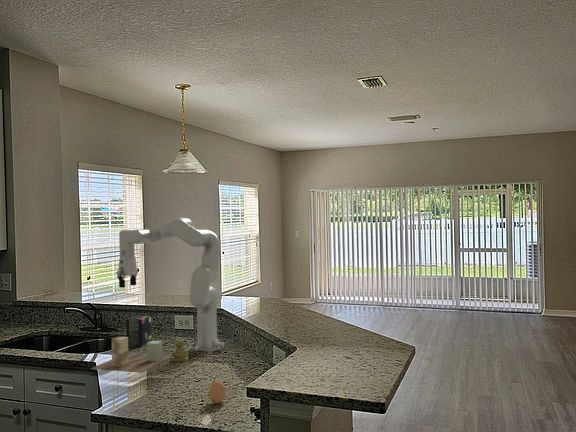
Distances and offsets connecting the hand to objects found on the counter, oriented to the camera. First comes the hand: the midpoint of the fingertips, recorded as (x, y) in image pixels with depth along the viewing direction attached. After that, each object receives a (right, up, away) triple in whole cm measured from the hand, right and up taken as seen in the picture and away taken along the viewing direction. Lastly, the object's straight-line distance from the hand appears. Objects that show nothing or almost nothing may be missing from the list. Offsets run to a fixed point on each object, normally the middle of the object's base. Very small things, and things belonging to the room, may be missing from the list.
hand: (127, 286), depth 279 cm
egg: (+59, -30, -90) cm, 112 cm away
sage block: (+23, -29, -34) cm, 50 cm away
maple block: (+10, -29, -43) cm, 53 cm away
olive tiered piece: (+35, -30, -36) cm, 58 cm away
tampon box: (+6, -31, 0) cm, 32 cm away
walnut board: (+14, -30, -38) cm, 51 cm away
